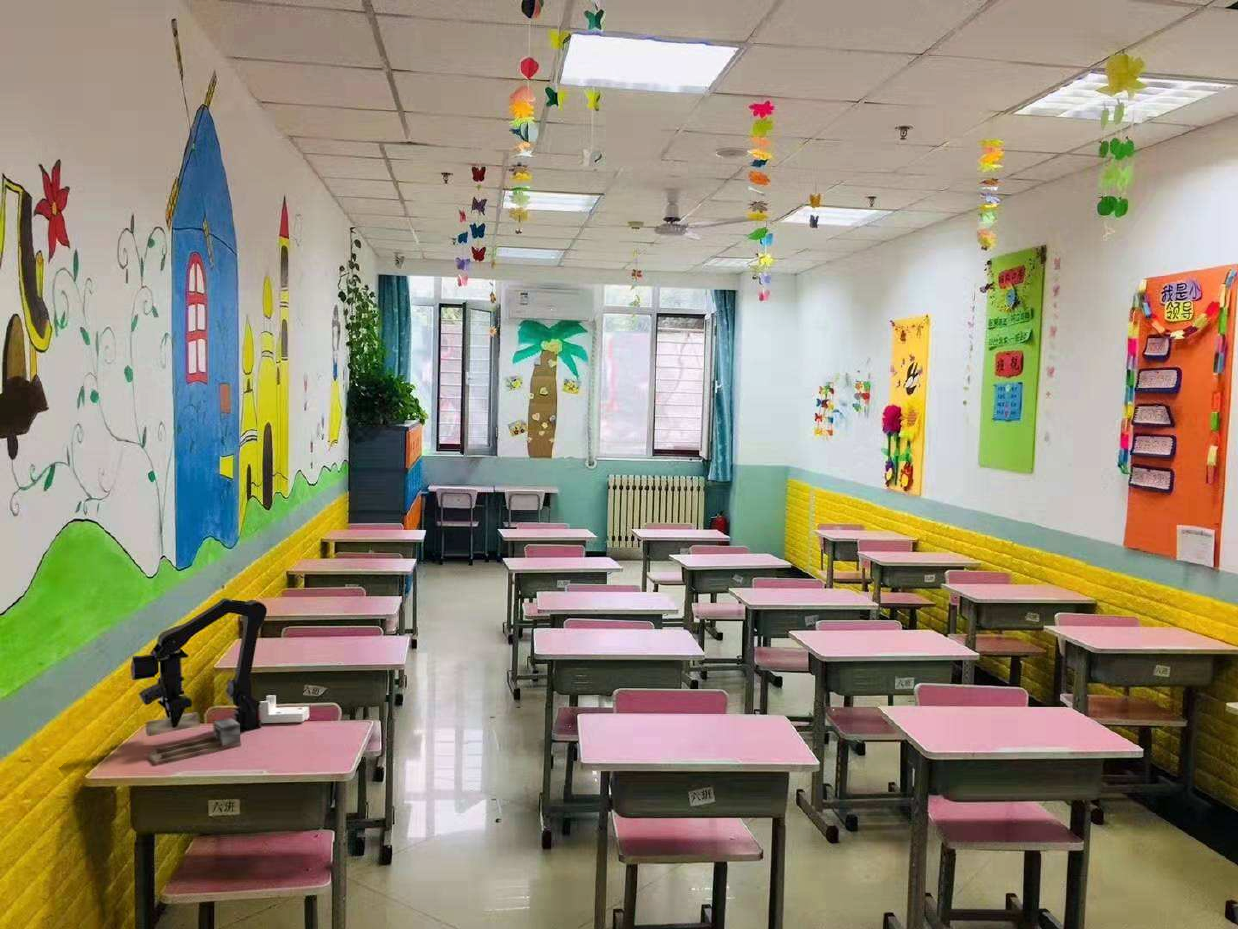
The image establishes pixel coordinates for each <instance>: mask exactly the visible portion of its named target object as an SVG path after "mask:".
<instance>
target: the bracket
mask: <svg viewBox="0 0 1238 929" xmlns="http://www.w3.org/2000/svg"><path fill="white" fill-rule="evenodd" d="M265 698H266V700H263V701H261V700H260V701H259V702H260V706H259V721H260V723H261V724H273V723H275V724H276V723H278V724H279V723H302V722H304V721H307V720H308V719H309V718H310V707H309V706H291V707H290V706H287V707H285V706H284V707H277V696H276V694H275V695H269V694H268V695H266V697H265Z"/></svg>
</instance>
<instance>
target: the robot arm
mask: <svg viewBox="0 0 1238 929" xmlns="http://www.w3.org/2000/svg"><path fill="white" fill-rule="evenodd" d="M267 612H268V610H267V607H266V605H265V604H264V603H262V602H260V601H258V600H255V599H249V600H247V601H244V600H238V599H230V598H227V597H225V598H222V599H220V600H219V601H218V602H217V603H215V604H213V605H212V606H210V607H209V608H207V609H206V610H204V611H202V612H201V613H199V614H198V615H196V616H195V617H193V618H192V619H190V620H188V621H187V622H185V623H182V624H181V625H178V626H174V627H172V628H169V629H167V630H164V631H163V632H161V633H160V634H159V635H157V636H158V637H157V642H156V644H155V645H154V647H153V648H152V650H151V651H150V652H149V654H145V655H133V656H132V657H131V665H130V676H131V680H132V681H139V680H145V679H150V678H155V676H156V675H158V674H160V675H159V676H160V677H158V679H157V683H155V684H153V685H150V686H149V687H146V688H145V689H143V690H142V691H140V692H138V695H139V697H140V699H141V701H142V704H144V705H145V706H148V705H151V704H152V703H153V702H155V701H157V700H158V699H159V700H158V701H157V702H156V703H158V704H159V705H160V706H161V707H163V709H164V712H165V714H166V718H169V717H170V719H171V723H172V727H173V728H175V727H177V725H178V723H179V721H180V718H181V716H182V715H183V714H184V712H185V710H186V709H187V708H191V707H192V705H193V700H192V699H191V698H190V697H189V696H187V695H186V694H185V690H184V689H183V681H185V678H184V676H183V675H182V674H183V673H182V671H183V670H182V659H185V658H186V659H187V658H189V654H188V653H187V652H185V651H184V650H183V649H182V648H183V647H184V646H186V645H187V643H188V642H189V641H190V640H191V638H193V637H194V636H195V635H196V634H198V633H199V632H201V631H203V630H204V629H206V628H207V627H209V626H210V625H212V624H214V622H216V621H218V620H220V619H221V618H223V617H225V616H226V615H227V614H235V615H239V616H241V621H242V628H243V630H242V636H241V641H240V648H239V652H238V658H237V664H236V671H235V673H234V676H233V678H232V679H229V678H228V679H227V681H226V682H227V684H226V685H227V686H226V688H225V691H224V692H225V693H226V698H227V699H228V700H229V701H230V702H231V703H232V704H233V705H234V706H235V707H237V708H235V709H234V713H233V718H232V719H234V720H235V721H236V722H238V723H239V724H240V733H241V732H246V731H250V730H251V731H252V730H255V729H259V728H260V729H261V728H262V725H261V724H260V702H261V701H258V700H257V699H256V698H255V697H253V685H252V677H251V675H252V669H253V665H254V664H253V663H254V659H255V652H256V648H257V647H256V646H257V641H258V635H259V631H260V629H261V627H262V626H263V624H264V621H265V618H266V616H267Z"/></svg>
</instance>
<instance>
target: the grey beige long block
mask: <svg viewBox="0 0 1238 929" xmlns="http://www.w3.org/2000/svg"><path fill="white" fill-rule="evenodd" d="M199 726H201V725H200V714H199V713H198V712H197V711H195V712H190V713H189V712H188V713H185V714H184V713H183V714H182V716H181V718H180V721H179V723H178V725H177V727H175V728H173V727H172V723H171V719H170V717H169V718H167V717H165V718H159V719H155V720H149V721H146V722H145V734H146V736H148V737H153V736H158V735H163V734H168V733H171V732H177V731H180V730H181V731H182V730H187V729H190V728H196V727H199Z"/></svg>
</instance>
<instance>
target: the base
mask: <svg viewBox="0 0 1238 929" xmlns="http://www.w3.org/2000/svg"><path fill="white" fill-rule="evenodd" d="M212 724H213V727H212V728H213V736H209V737H204V738H200V739H195V740H194V739H193V740H191V741H186V742H181V743H177V744H172V745H168V746H167V745H166V746H164V747H159V748H156V749H155V750H156V751H153V752H148V753H147V758H148V759H149V760H150V761H151V762H152V763H153V764H154V765H155V766H160V765H163V764H164V763H165V764H169V763H173V762H177V760H178V761H182V760H185V759H191V758H194V757H198V756H203V755H207V754H212V753H216V752H220V751H225V750H228V749H234V748H238V747H241V746H242V741H241V732H240V724H239V723H238V722H236V721H235V720H234V719H233V718H232V717H225V718H222V719H216V720H213V722H212ZM172 761H173V762H172ZM168 762H169V763H168ZM159 764H160V765H159ZM165 764H164V765H165Z"/></svg>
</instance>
